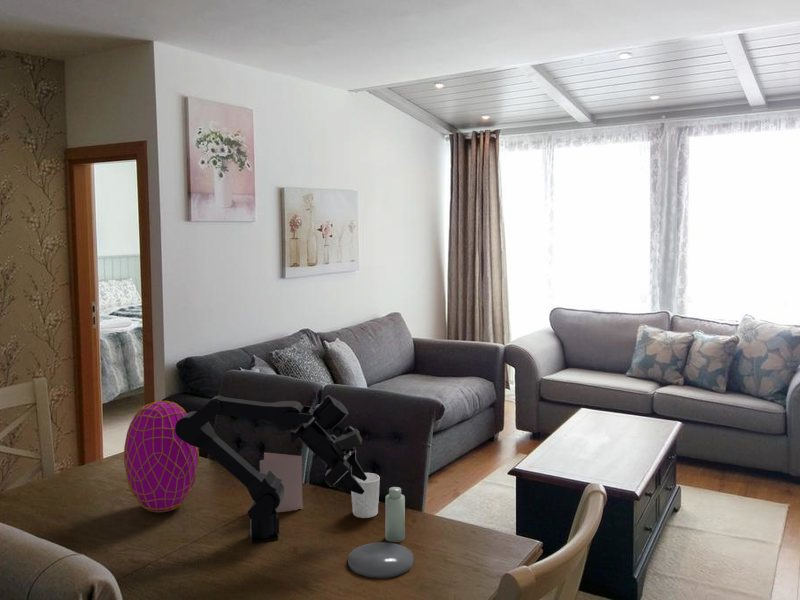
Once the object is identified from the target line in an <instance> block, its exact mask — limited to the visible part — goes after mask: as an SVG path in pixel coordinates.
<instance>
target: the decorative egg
mask: <svg viewBox="0 0 800 600" xmlns="http://www.w3.org/2000/svg"><path fill="white" fill-rule="evenodd" d="M186 414H188V413H187V411H186V410H185V409H184V408H183V407H182V406H180V405H179V404H178V403H177V402H174V401H169V400H156V401H153V402H150V403H147V404H145V405H143V406H141V408H140V409H139V410H138V411H137V412H136V413H135V415H134V416H133V418H132V420H131V422H130V424H129V426H128V429H127V432H126V436H125V443H124V448H123V465H124V469H125V470H124V471H125V474H126V480H127V484H128V487H129V489H130V491H131V493H132V495H133V496H134V499H135V500H136V501H137V502H138V503H139V505H140V506H141V507H142V508H143V509H145V510H147V511H148V512H152V513H166V512H170V511H173V510H176V509H178V508H179V507H180V506H181V505H182V504H183V503H184V502H186V500H187V499H188V496H189V495H190V493H191V492H192V490H193V487H194V485H195V482H196V479H197V473H198V468H199V462H200V451H199V450H200V448H198V447H195V446H192V445H190V444H188V443H186V442H185V441H183V440H181V439H180V438H179V437H178V436H177V435H176V433H175V426H176V423H177V422H178V421H179V420H180V419H181V418H182V417H184V416H185V415H186Z"/></svg>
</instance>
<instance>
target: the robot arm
mask: <svg viewBox="0 0 800 600" xmlns="http://www.w3.org/2000/svg"><path fill="white" fill-rule="evenodd" d="M349 413H350V412H349V411H348V408H346V406H345V405H344V404H343V403H342V402H341V401H340V400H338V399H337V398H334V397H332V396H331V395H330V394H327V395H326V396H325V398H324V399H323V401H321V403H319V405H318V406H316V407H315V406H309V405H302V403H301V402H299V401H297V400H283V401H276V402H264V401H263V402H262V401H257V400H256V401H255V400H248V399H240V398H234V397H233V398H232V397H226V396H222V395H216V396H214V397H213V398H211V399H210V400H209V401H208V402H207V403H206V404H205V405H203V406H202V407H201V408H200V409H199V410H197V411H196V410H195V411H194V410H193V411H190V412H188V413H187V414H186V415H185V416H184V417H182V418H181V419H180V420H179V421H178V422H177V423H176V426H175V433H176V435H177V436H178V437H179V438H180V439H181V440H183V441H185V442H186V443H188V444H190V445H192V446H195V447H198V448H199V449H201V450H203V451H204V452H206V454H207V455H209V456H210V457H211V458H212V459H214V461H215V462H217V464H219V465H220V466H221V467H223V468H224V469H225V470H226V471H227V472H228V473H229V474H230V475H232V476H233V477H234V479H236V480H237V481H239V482H240V483H241V484H242V485H243V486H244V487H245V488H246V489H247V491H248V494H249V495H250V498H251V500H252V503H251V505H250V507H249V508H248V510H247V515H248V518H249V528H250V529H249V531H248V534H249V538H250V542H251V543H253V544H254V543H262V542H268V541H269V542H270V541H276V540H279V534H280V518H279V515H278V512H277V513H276V510H275V509H276V508H277V507H278V506H279V504H280V502H281V500H282V498H283V496H284V493H285V491H284V486H283V484H282V483H281V481H282V480H281V479H278V478H277V477H276V476H275V475H274V474H273V473H272V472H271V471H268V473H267V475H266V474H263V473H260V471H258V470H257V469H256V468H255V467H253V466H252V465H251V464H250V463H249V462H248V461H247V460H246V459H244V458H243V456H241V455H240V454H239V453H238V452H237V451H235V450H234V449H233V448H232V447H231V446H229V444H227V443H226V442H225V441H224V440H222V438H220V436H218V435H217V433H216V432H215V430H214V428H213V426H212V424H211V422H210V420H212V419H214V417H216V416H217V415H220V416H221V415H222V416H228V417H237V418H243V419H250V420H258V421H263V422H267V423H270V424H271V425H273V426H276V427H278V428H282V429H284V430H287V431H288V430H290V433H289V434H290V444H291V445H292V444H294V443H295V442H296V441H297V440H298V439H299V440H300V441H301V442H302V444H304V445H305V447H306V448H308V450H310V451H311V452H312V453H313V456H312V457H314V458H315V460H317V459H319V460H320V461H321V462H322V463H323V464H324V465H325V467H324V469H326V473H325V475H324V482H325V483H326V484H327V485H328V486H329V488H331V487H334V488H339V489H344V490H347V491H349V492H351V491H352V492H355V493H358V494H361V495H362V494H363V493H364V489H363V488H362V487H361V485H360V484H359V483H358V481H357V480H356V479H355V477H357V478H359V479H361V480H363V481H365V480H366V479H367V477H366V475H365V473H366V472H364V470H363V468H362V467H361V465H360V464H359V461H358V459H357V449H356V448H359V447H360V446H361V445H362V442H363V438H362V436H361V434H360V431H359V430H358V429H357V428H354V427H353V426H352V425H349V426H347V427H345V428H344V434H341V435H340V436H338V437H337V436H336V435H335V434H331V435H330V434H329V433H328V432H326V431H329V430H331V431H333V430H334V429H335V427H337V426H338V425H339V423H341V422H342V421H343V420H344V419H345V418H346V417H347V416H348V415H349ZM298 426H299V427H298ZM297 427H298V428H297ZM296 428H297V429H296ZM354 476H355V477H354Z"/></svg>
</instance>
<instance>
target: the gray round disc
mask: <svg viewBox="0 0 800 600" xmlns="http://www.w3.org/2000/svg"><path fill="white" fill-rule="evenodd" d="M347 560H348V562H347V565H348V567H349V569H350V570H351V571H353V573H355V574H357V575H359V576H363V577H367V578H372V579H389V578H393V577H394V578H395V577H398V576H400V575H401V576H402V575H403V574H405V573H407V572H409V571H410V570H411V569H412V568H413V566H414V554H413V552H412V551H411V550H410V549H409V548H407V547H406V546H404V545H401V544H397V543H395V542H387V541H386V542H384V541H383V542H371V543H370V542H369V543H366V544H362V545H360V546H357V547H355V548H354V549H353V550H351V551H350V552H349V554H348V558H347Z"/></svg>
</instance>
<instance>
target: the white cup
mask: <svg viewBox="0 0 800 600" xmlns="http://www.w3.org/2000/svg"><path fill="white" fill-rule="evenodd" d="M364 473H365V475H366V477H367V479H366V480H365V481H363V480H361V479H359V478H357V477H355V476H354V477H355V479H356V480H357V481H358V483H359V484H360V485H361V487H362V488H363V489H364V493H363V494H362V495H361V494H358V493H355V492H352V491H350V493H351V494H350V495H351V505H352V514H353V516H355V517H356V518H360V519H361V518H362V519H369V518H373V517H375V516H377V514H378V513H379V500H380V499H379V497H380V482H381V481H380V480H381V479H380V478H381V477H380V476H379V474H377V473H373V472H364Z"/></svg>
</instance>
